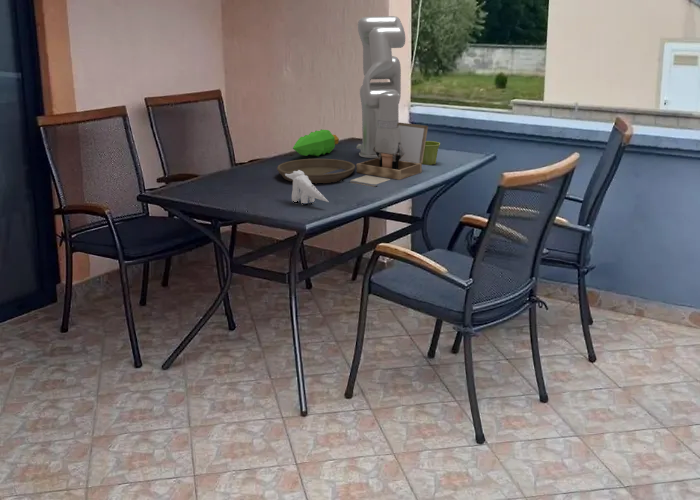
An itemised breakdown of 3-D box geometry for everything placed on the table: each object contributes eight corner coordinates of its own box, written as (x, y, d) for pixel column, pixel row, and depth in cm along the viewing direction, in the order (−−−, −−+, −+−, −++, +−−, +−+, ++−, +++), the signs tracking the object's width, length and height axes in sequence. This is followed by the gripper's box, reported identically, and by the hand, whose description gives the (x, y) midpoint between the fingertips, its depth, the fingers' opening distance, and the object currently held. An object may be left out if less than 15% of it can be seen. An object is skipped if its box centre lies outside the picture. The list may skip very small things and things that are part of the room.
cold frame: (356, 175, 349) (356, 163, 348) (379, 168, 360) (379, 157, 359) (399, 182, 337) (399, 170, 335) (421, 174, 348) (421, 163, 347)
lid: (385, 120, 357) (386, 121, 358) (379, 156, 359) (380, 157, 360) (427, 125, 345) (428, 126, 346) (421, 163, 347) (422, 163, 347)
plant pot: (439, 161, 371) (440, 141, 368) (439, 166, 362) (440, 145, 359) (417, 161, 372) (417, 141, 369) (417, 166, 363) (417, 145, 360)
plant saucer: (319, 164, 370) (318, 154, 368) (371, 176, 349) (371, 164, 347) (261, 177, 349) (261, 166, 348) (313, 190, 328) (313, 178, 327)
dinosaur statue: (292, 193, 320) (293, 164, 315) (336, 212, 304) (337, 181, 299) (277, 197, 315) (278, 167, 311) (321, 216, 299) (322, 185, 295)
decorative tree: (339, 123, 391) (297, 131, 367) (347, 148, 392) (306, 158, 368) (320, 131, 398) (278, 139, 374) (328, 155, 399) (286, 165, 375)
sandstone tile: (350, 182, 337) (350, 180, 337) (366, 177, 345) (366, 175, 344) (375, 187, 330) (375, 184, 330) (390, 181, 338) (390, 179, 337)
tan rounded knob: (378, 172, 348) (377, 153, 345) (387, 170, 353) (387, 150, 350) (390, 174, 344) (390, 154, 342) (399, 172, 349) (399, 152, 346)
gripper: (365, 123, 345) (366, 168, 350) (401, 127, 334) (401, 174, 340) (377, 120, 350) (377, 165, 356) (412, 125, 340) (412, 170, 346)
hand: (388, 169), depth 348 cm, fingers closed on tan rounded knob, 5 cm apart
